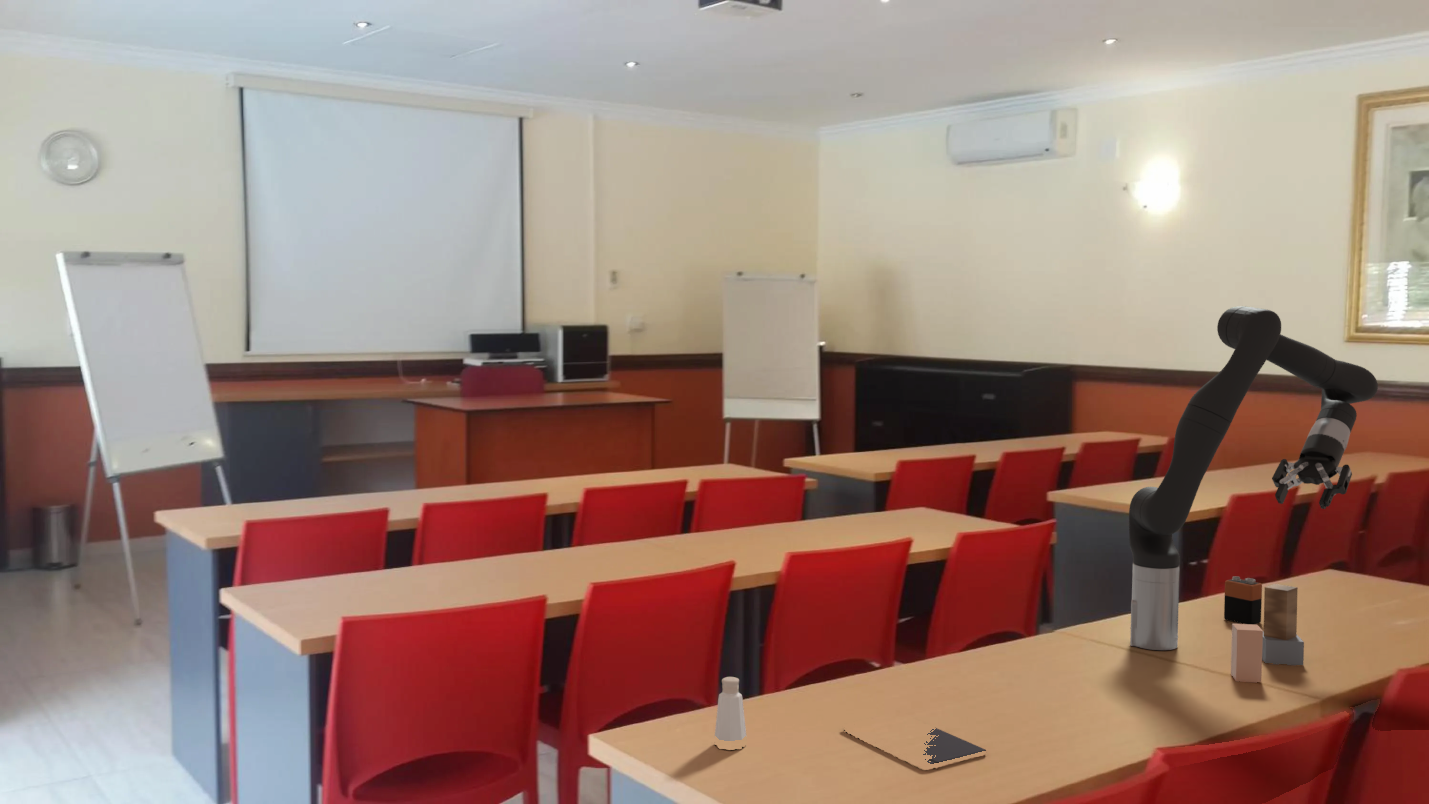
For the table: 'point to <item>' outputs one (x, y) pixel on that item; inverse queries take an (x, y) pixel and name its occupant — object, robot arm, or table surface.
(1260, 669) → the pale pink block
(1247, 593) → the battery
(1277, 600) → the walnut block
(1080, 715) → the table surface
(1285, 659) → the slate gray block
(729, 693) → the pepper shaker
